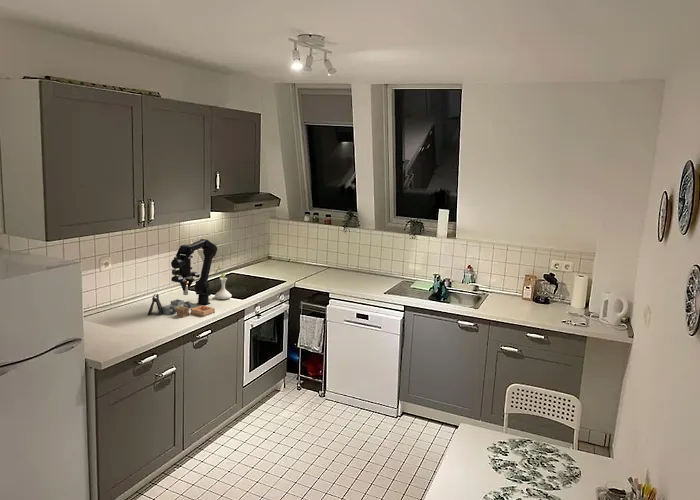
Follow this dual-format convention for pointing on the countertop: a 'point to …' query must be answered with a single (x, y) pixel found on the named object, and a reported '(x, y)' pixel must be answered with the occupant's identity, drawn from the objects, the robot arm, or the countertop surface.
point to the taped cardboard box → (182, 311)
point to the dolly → (175, 306)
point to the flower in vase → (223, 292)
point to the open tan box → (202, 310)
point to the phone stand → (157, 305)
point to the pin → (186, 289)
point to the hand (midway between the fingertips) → (185, 290)
